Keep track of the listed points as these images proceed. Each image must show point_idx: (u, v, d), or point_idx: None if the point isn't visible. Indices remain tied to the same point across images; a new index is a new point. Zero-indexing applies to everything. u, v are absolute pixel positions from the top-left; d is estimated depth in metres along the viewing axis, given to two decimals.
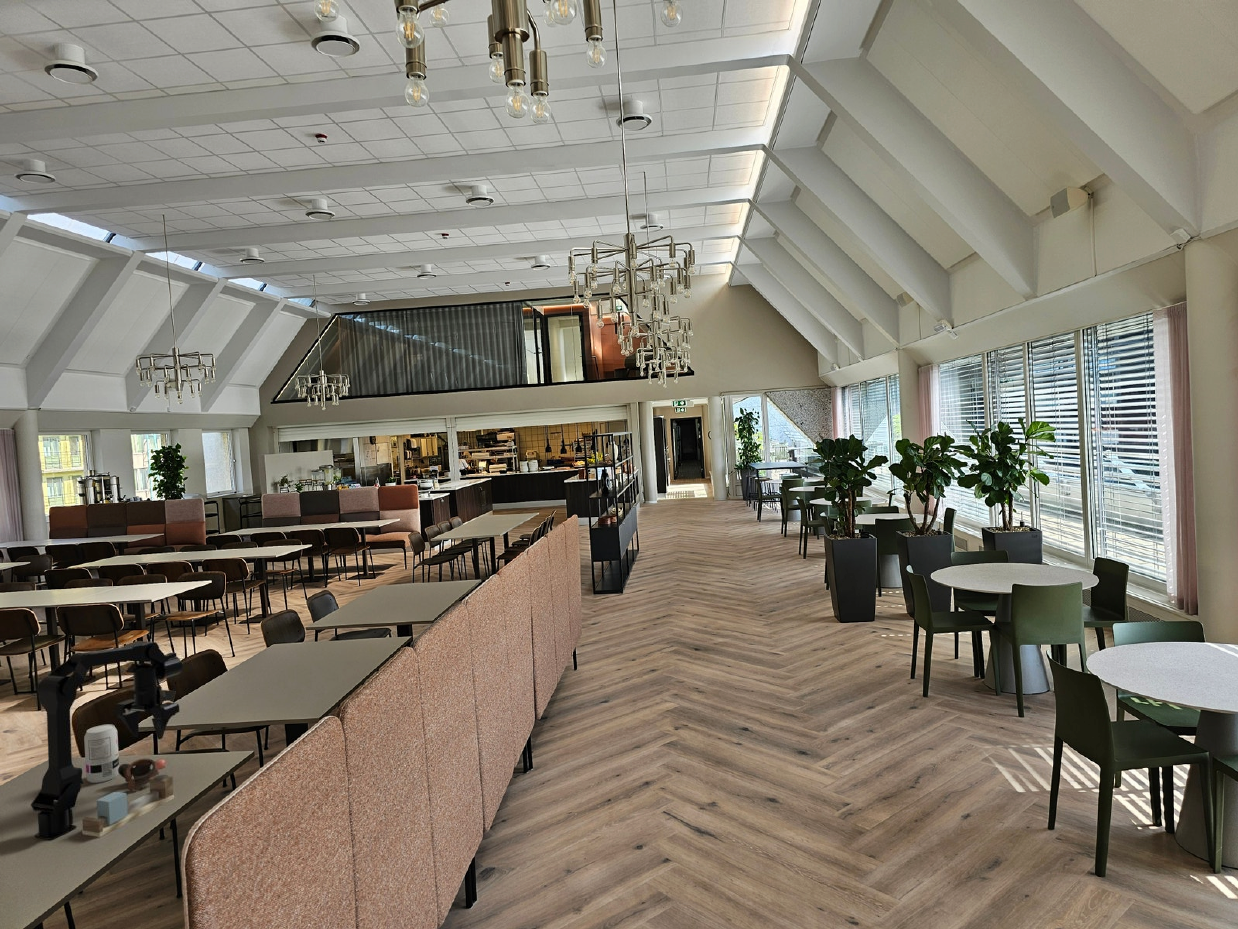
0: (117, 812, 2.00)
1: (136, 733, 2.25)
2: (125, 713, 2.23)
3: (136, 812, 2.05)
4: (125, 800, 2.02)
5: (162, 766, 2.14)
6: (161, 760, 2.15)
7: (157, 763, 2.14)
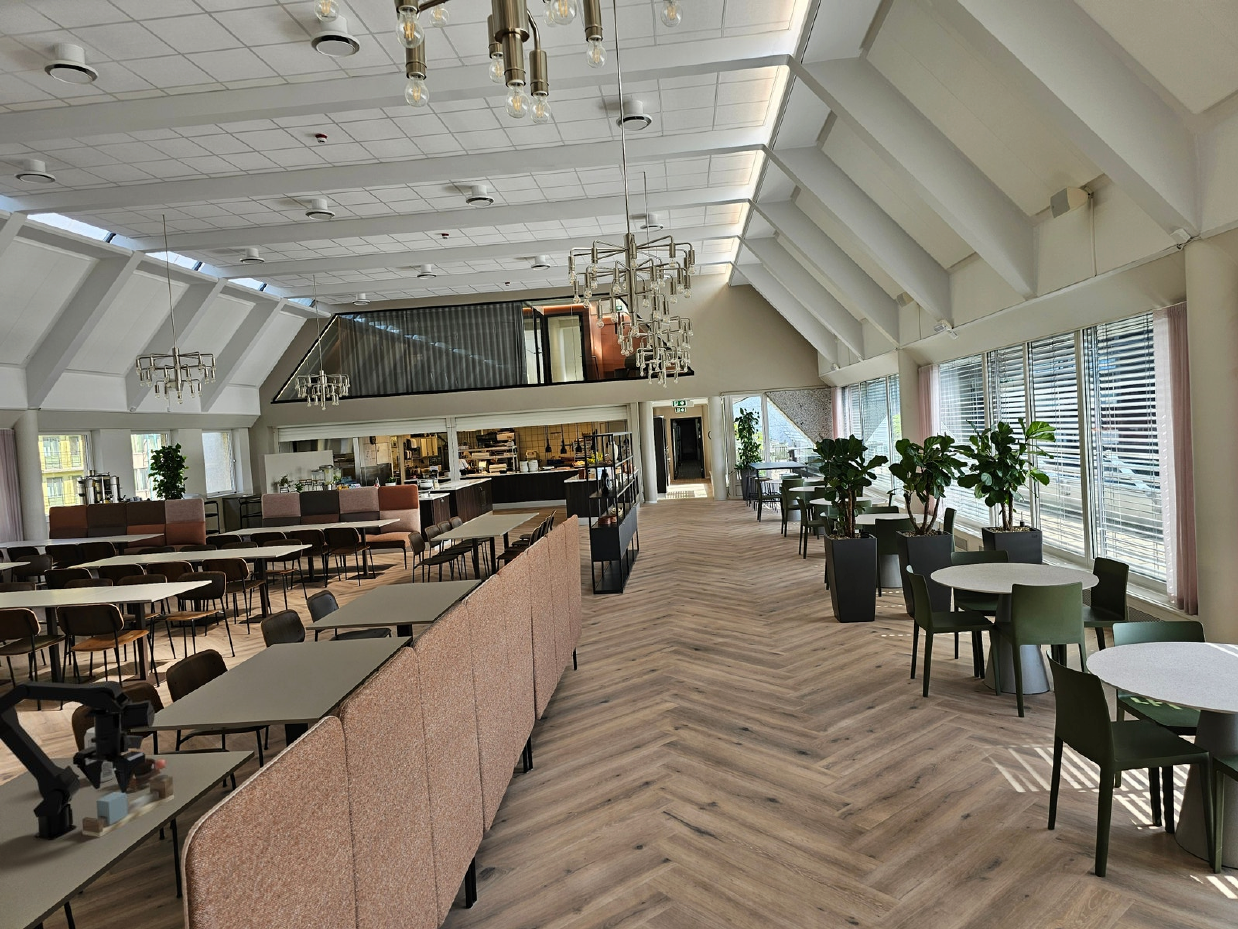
0: (117, 812, 2.00)
1: (97, 784, 2.02)
2: (85, 763, 2.00)
3: (136, 812, 2.05)
4: (125, 800, 2.02)
5: (162, 766, 2.14)
6: (161, 760, 2.15)
7: (157, 763, 2.14)
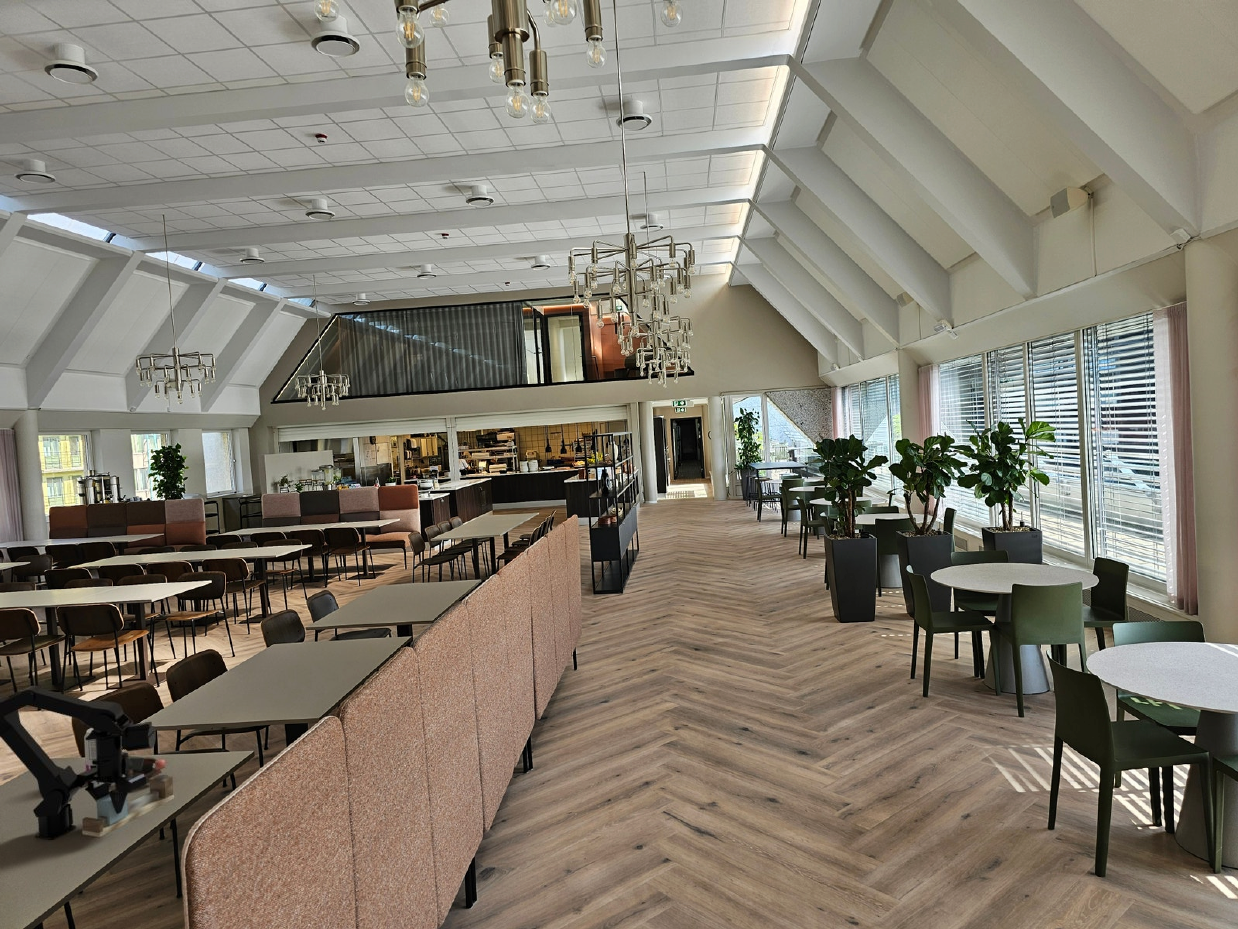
0: None
1: None
2: (93, 786, 2.00)
3: (136, 812, 2.05)
4: (125, 800, 2.02)
5: (162, 766, 2.14)
6: (161, 760, 2.15)
7: (157, 763, 2.14)
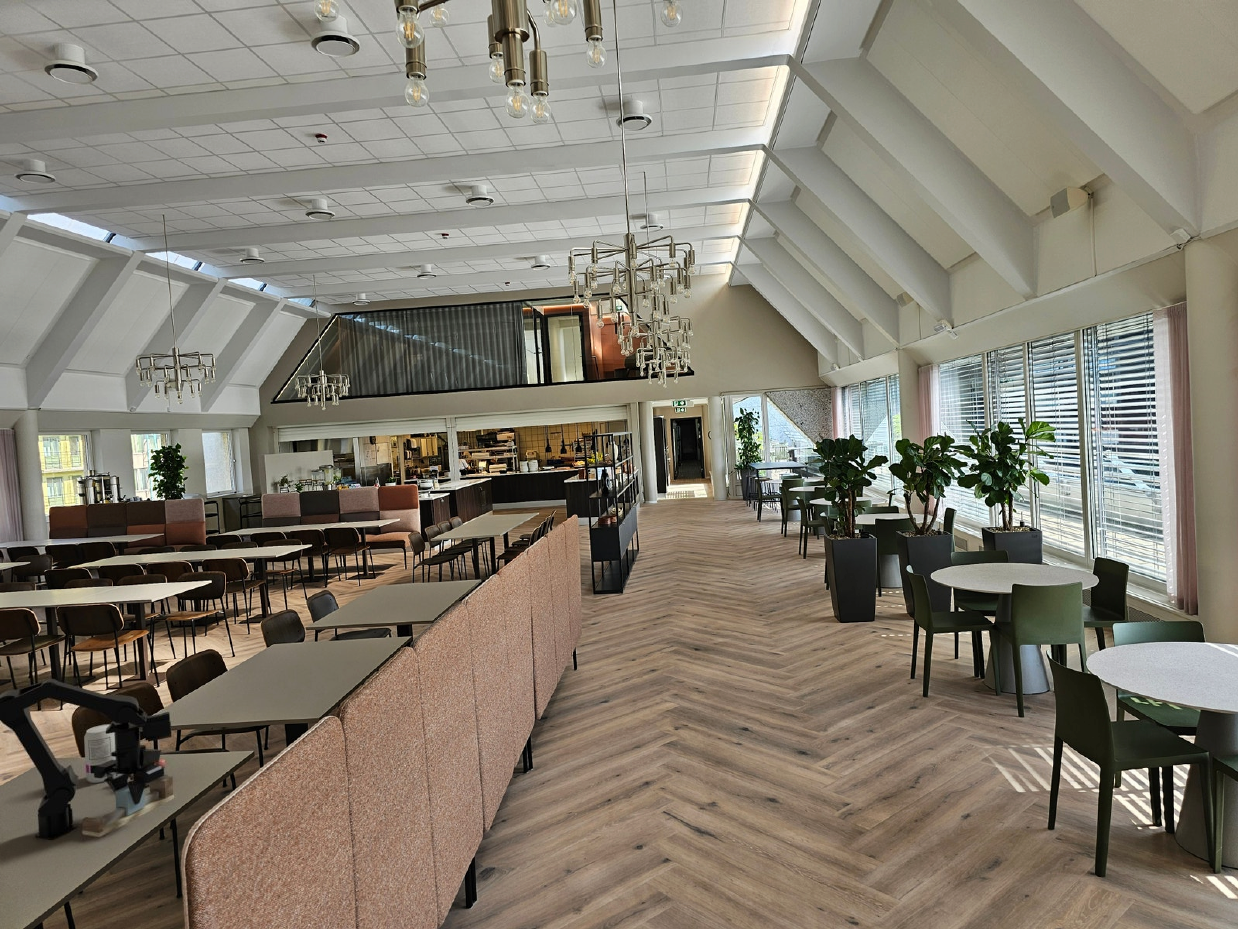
0: None
1: None
2: (112, 777, 2.05)
3: (136, 812, 2.05)
4: (143, 791, 2.07)
5: (162, 766, 2.14)
6: (161, 760, 2.15)
7: (157, 763, 2.14)
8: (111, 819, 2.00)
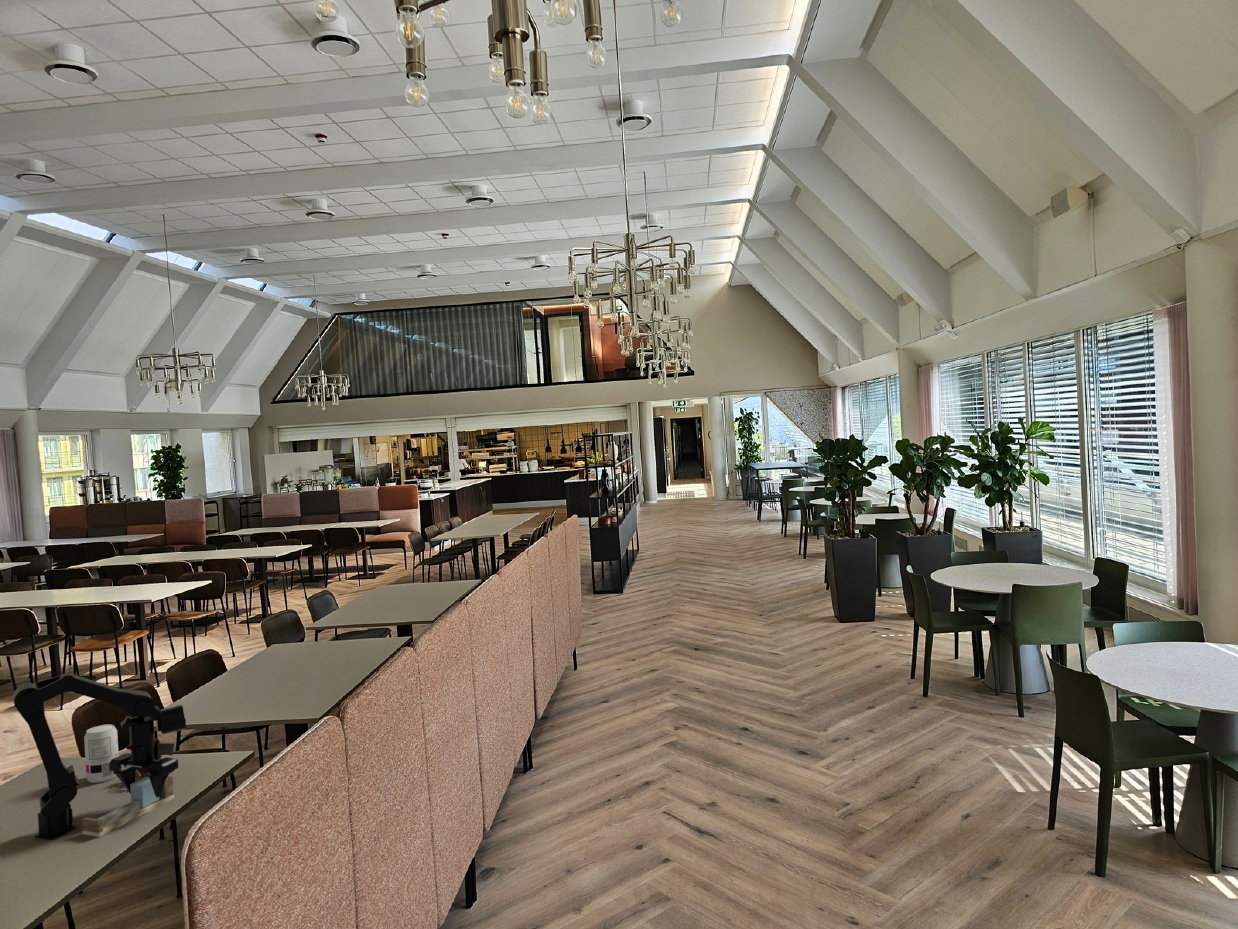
0: (150, 796, 2.09)
1: None
2: (121, 769, 2.10)
3: (136, 812, 2.05)
4: None
5: None
6: None
7: None
8: (111, 819, 2.00)
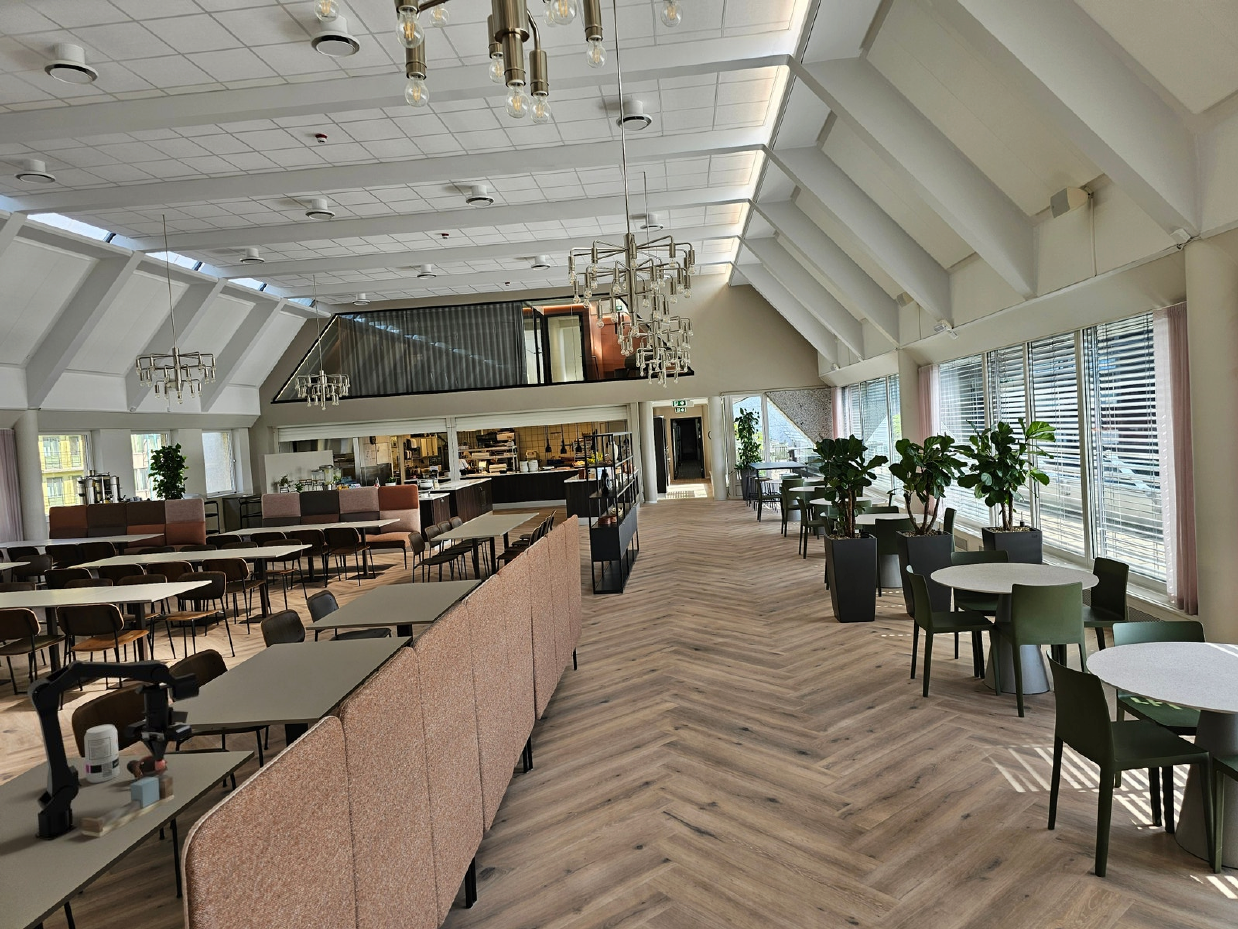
0: (150, 796, 2.09)
1: None
2: (148, 737, 2.13)
3: (136, 812, 2.05)
4: (157, 784, 2.12)
5: (162, 766, 2.14)
6: None
7: (157, 763, 2.14)
8: (111, 819, 2.00)
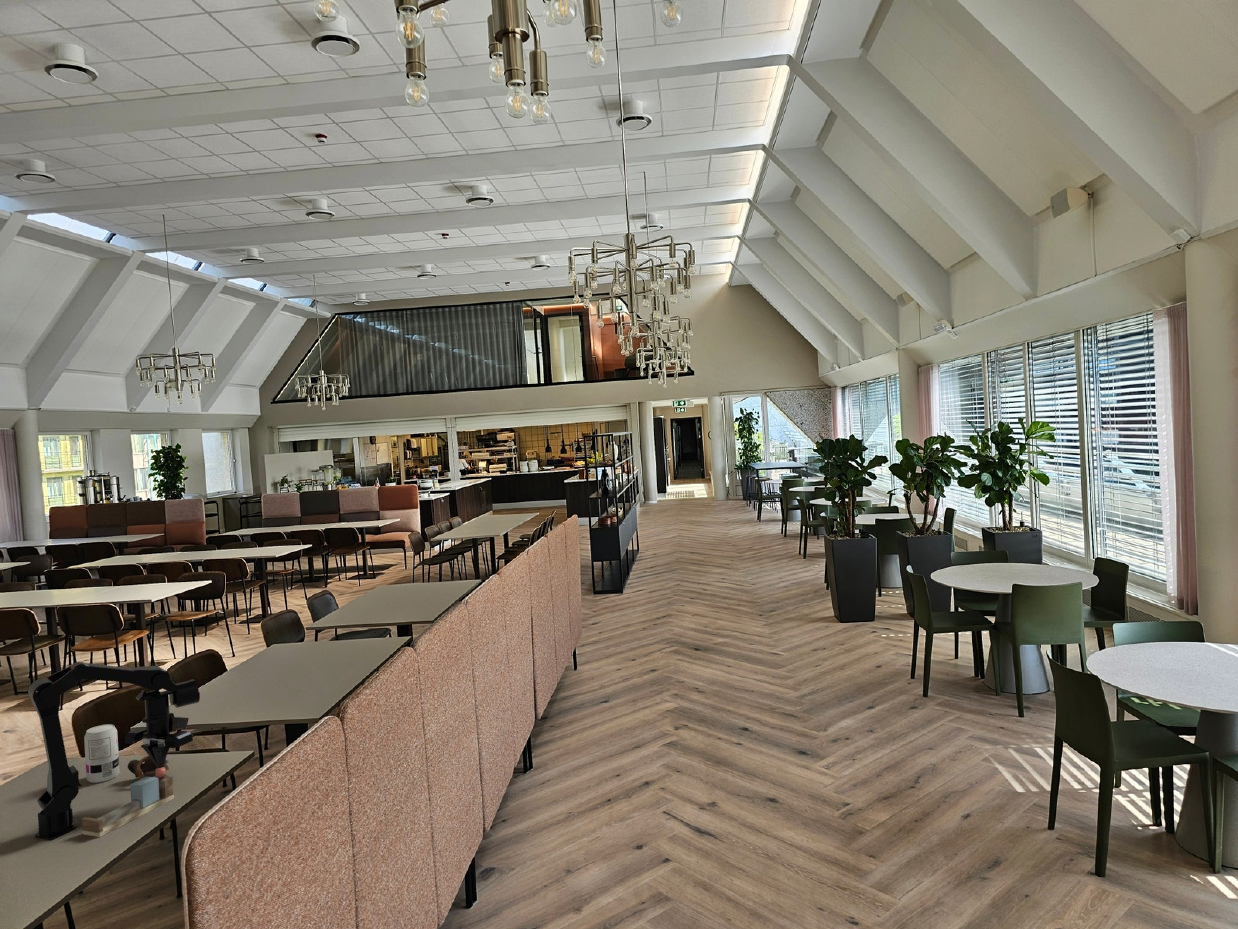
0: (150, 796, 2.09)
1: None
2: (149, 743, 2.13)
3: (136, 812, 2.05)
4: (157, 784, 2.12)
5: (162, 774, 2.14)
6: (161, 768, 2.15)
7: (157, 771, 2.14)
8: (111, 819, 2.00)
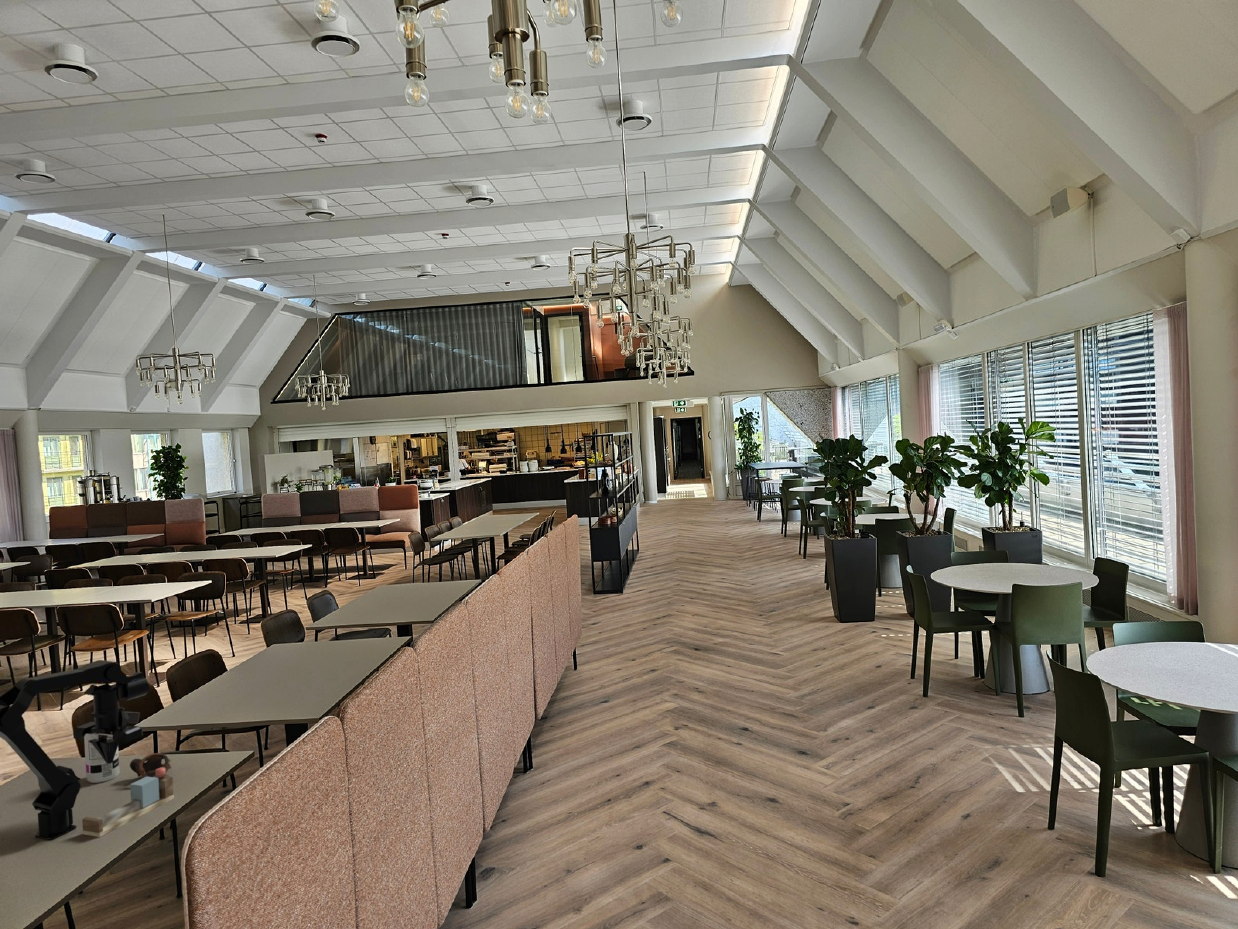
0: (150, 796, 2.09)
1: None
2: (97, 738, 2.08)
3: (136, 812, 2.05)
4: (157, 784, 2.12)
5: (162, 774, 2.14)
6: (161, 768, 2.15)
7: (157, 771, 2.14)
8: (111, 819, 2.00)
